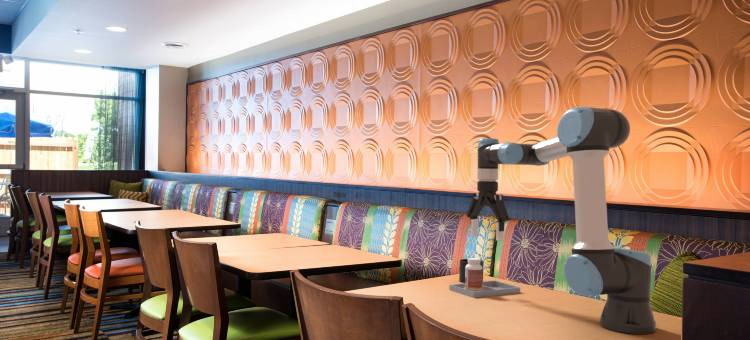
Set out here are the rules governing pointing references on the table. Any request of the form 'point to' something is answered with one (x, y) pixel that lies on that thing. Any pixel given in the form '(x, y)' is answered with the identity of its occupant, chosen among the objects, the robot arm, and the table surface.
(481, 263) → the mug
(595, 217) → the robot arm
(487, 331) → the table surface
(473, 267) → the pill bottle
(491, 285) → the caddy
